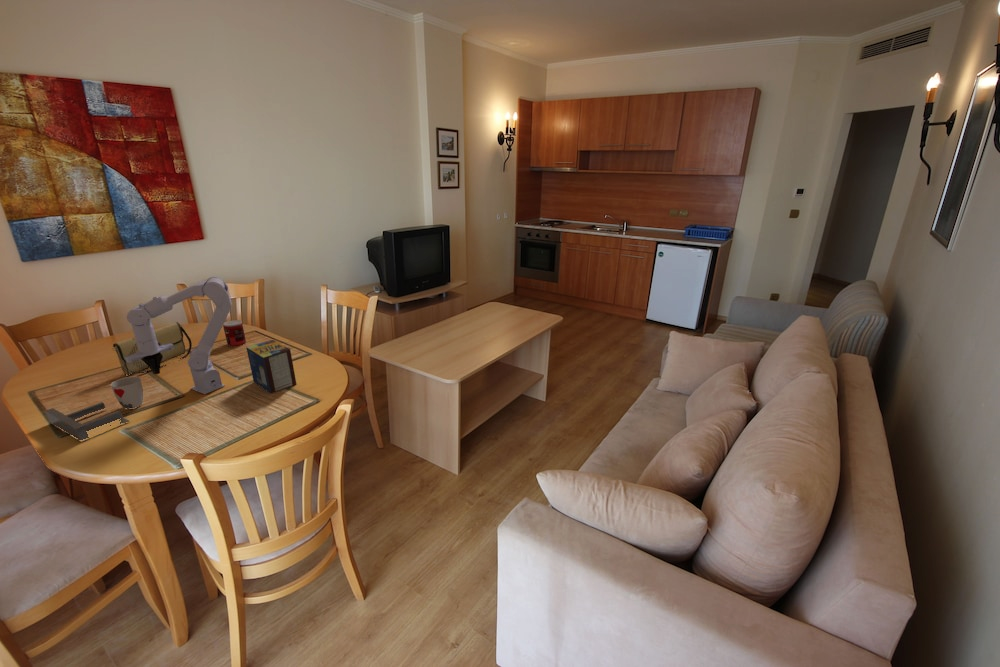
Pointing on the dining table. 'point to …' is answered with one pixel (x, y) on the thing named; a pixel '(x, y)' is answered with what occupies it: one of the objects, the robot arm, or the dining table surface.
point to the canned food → (234, 333)
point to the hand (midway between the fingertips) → (156, 373)
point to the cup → (128, 391)
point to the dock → (69, 420)
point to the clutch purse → (163, 336)
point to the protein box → (271, 365)
